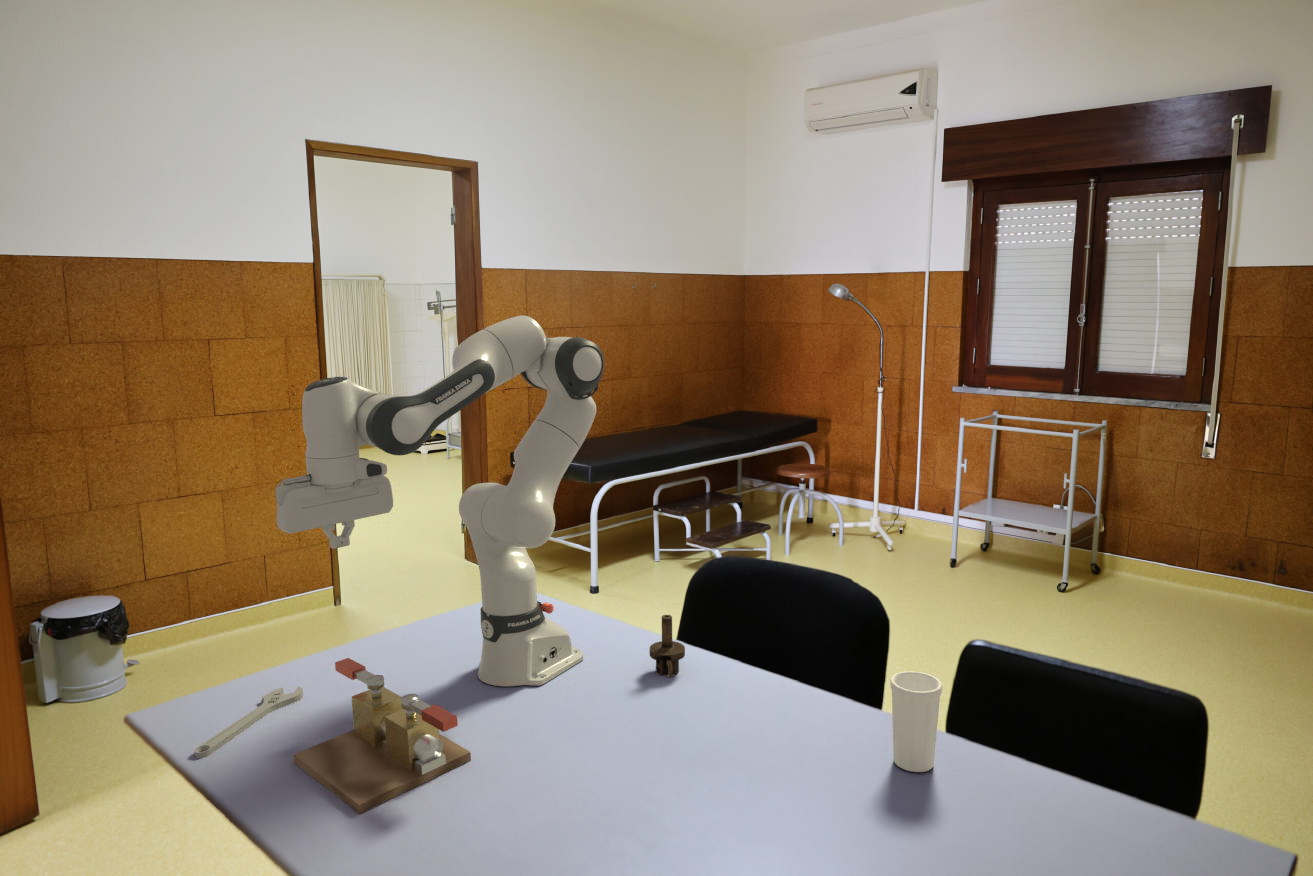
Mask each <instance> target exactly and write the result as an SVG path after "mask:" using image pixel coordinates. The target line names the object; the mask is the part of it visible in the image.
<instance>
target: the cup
mask: <svg viewBox="0 0 1313 876" xmlns="http://www.w3.org/2000/svg"><path fill="white" fill-rule="evenodd" d="M889 682H890V688H891V705H892V709H891V710H892V745H893V747H892V749H893V750H892V751H893V752H892V753H893V761H894V764H895V765H896V766H897V767H899V768H901V769H903V770H904V771H908V772H915V773H924V772H928V771H930V770H931V769H932V768H933V767H934V764H935V755H936V745H937V744H936V743H937V735H938V733H937V731H938V725H939V724H938V721H939V711H940V710H939V709H940V701H941V695H942V693H943V688H944V687H943V684H942V681H941V680H939V678H937V677H936V676H934V675H932V674H929V673H926V672H920V671H910V670H909V671H908V670H907V671H900V672H897V673H895V674H892V676H891V678H890V679H889Z"/></svg>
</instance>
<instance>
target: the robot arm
mask: <svg viewBox="0 0 1313 876" xmlns="http://www.w3.org/2000/svg"><path fill="white" fill-rule="evenodd" d="M451 360H452V361H451V362H452V370H453V371H452V372H451V373H449V374H448V375H446V376H445V377H444V378H442V379H440V380H439V381H437V382H436V383H433V384H432V385H431V386H429V387H427V388H425V389H424V390H423V391H421V392H419V393H417V394H413V395H404V396H403V395H402V396H399V395H398V396H397V395H393V394H387V393H383V392H380V391H376V390H374V389H373V390H372V389H370V388H367V387H364V386H362V385H360V384H357V383H356V382H354V381H352V380H351V379H349V377H345V376H333V377H327V378H321V379H318V380H315V381H313V382H311V383H310V384H308V385H307V386H306V388H304V391H303V395H302V403H301V404H302V406H301V407H302V408H301V409H302V410H301V414H302V418H301V419H302V432H303V435H304V437H305V441H306V447H305V448H306V449H305V452H304V453H305V454H304V456H305V467H306V474H305V475H299V476H296V477H287V478H285V479H283V480H282V481H281V482H279V483H278V484H277V486H276V487H275V492H274V493H275V500H276V503H277V504H276V505H277V506H276V525H277V528H278V529H279V530H281V532H284V533H286V534H289V535H290V534H295V533H300V532H304V531H309V530H315V529H318V528H321V531H322V532H323V533H324V534H325V535H326V537H327V538H328V540H329V541H328V543H329V547H330V549H333V550H335V549H338V548H339V549H340V548H344V547H348V546H350V543H351V542H350V540H351V539H350V536H351V534H352V533H353V531H354V529H355V521H356V520H360V519H361V520H362V519H365V518H370V517H374V516H379V515H385V514H389V513H390V512H391V511H392V509H393V508H394V498H393V490H392V485H391V481H390V479H389V477H388V476H386V475H387V474H388V473H387V472H388V466H387V464H386V463H383V462H379V461H377V460H373V459H368V458H365V457H360V447H361V446H366V445H369V446H372V447H375V448H378V449H379V450H381V451H383V452H384V453H387V454H389V455H393V456H406V455H409V454H412V453H414V452H415V451H417V450H419V449H420V448H421V447H422V446H424V445H425V443H426V441H427V440H428V439H429V438H430V436H431V435H432V434H433V432H434V431H435V430H436V429H437V427H439V426H440V425H441V424H442V423H444V422H445V421H447V420H448V419H449V418H451V417H452V416H454V415H455V414H457V413H458V412H460V411H461V410H463V409H464V408H466V407H467V406H469V405H471V403H474V402H475V401H476V400H478V399H479V398H480V397H481V396H483V395H485V394H487V393H488V392H490V391H492V390H494V389H496V388H498V387H499V386H501V385H503V384H505V383H507V382H508V381H510V380H512V379H513V378H515V377H517V376H518V375H520V376H521V378H522V379H523V380H524V381H525V382H526V383H527V384H528V385H530V386H531V387H534V388H537V389H539V390H540V389H541V390H546V398H545V402H544V404H543V408H542V409H541V411H539V413H538V414H537V416H536V417H535V419H534V420H533V422H532V423H531V425H530V426H529V427H528V430H527V431H526V432H525V434H524V436H523V437H522V438H521V439H520V441H519V443H518V445H517V446H516V448H515V449H514V452H513V459H514V469H513V472H512V476H511V477H510V480H509V482H508V483H507V485H504V484H501V483H497V482H482V483H481V482H479V483H476V484H473V485H471V486H469V487H468V488H467V489H466V490H465V491H464V492H463V494H462V495H461V497H460V500H459V503H458V512H459V516H460V519H461V520H462V521H463V523H464V524H465V527H466V528H467V530H468V531H467V532H468V534H469V536H470V540H471V544H472V547H473V550H474V553H475V558H476V561H477V565H478V570H479V577H480V587H481V588H480V589H481V592H480V593H481V604H482V605H481V608H480V630H481V634H482V649H481V656H480V662H479V667H478V671H477V677H478V678H479V680H480V681H481V682H483V683H484V684H485V683H486V684H488V685H492V686H498V687H517V686H542V685H545V684H546V683H548V682H550V681H551V680H552V679H554V678H556V677H557V676H559V675H562V673H564V672H565V671H567V670H568V669H570V668H572V667H574V666H575V665H577V664H578V663H580V662H582V661H583V660H584V655H583V652H581V650H580V649H578V648H576V647H575V646H573V645H572V640H571V637H570V634H569V632H568V631H567V630H566V629H565V628H564V627H562V626H561V625H559V624H557V623H556V622H554V621H552V620H550V619H548V618H547V617H545V615H544V612H545V613H546V614H549V615H550V614H552V613H553V612H554V609H555V607H554V605H553V604H552V603H549V602H543V603H542V602H541V601H539V600H538V594H537V574H536V573H537V571H536V566H535V564H534V562H533V561H532V558H530V556H529V553H528V551H527V549H536V548H538V547H542V546H543V545H544V544H546V543H547V542H548V541H549V540H550V538H551V537H552V535H553V532H554V531H555V527H556V515H555V511H554V503H555V498H556V493H557V491H558V488H559V486H560V483H561V481H562V479H563V477H564V475H565V473H566V472H567V470H568V468H569V466H570V465H571V463H572V462H573V460H574V459H575V457H576V455H577V453H578V452H579V450H581V447H582V445H583V443H584V442H585V441H586V438H587V436H588V435H589V432H590V431H591V428H592V425H593V422H594V420H595V417H596V414H597V405H596V402H595V401H594V398H593V397H592V396H593V395H594V394H595V393H596V392H597V391H598V389H599V383H600V382H601V380H602V378H603V375H604V370H605V358H604V354H603V351H602V350H601V348H600V347H599V345H598V344H596V343H595V342H593V341H592V340H589V339H587V338H584V337H581V336H579V337H578V336H575V337H572V336H557V337H547V336H546V333H545V331H544V330H543V327H542V326H541V325H540V324H539V322H538V321H536V320H535V319H534V318H532V317H530V316H528V315H516V316H514V317H510V318H507V319H503V320H501V321H498V322H496V323H493V324H491V325H489V326H487V327H485V328H483V329H481V330H479V331H477V332H475V333H473V334H472V335H470V336H469V337H467V338H466V339H464V340H463V341H461V343H459V344H458V345H457V346H456V347H455V348H454V351H453V354H452V359H451ZM336 524H341V525H342V526H343V529H342V531H341V534H340V535H337V536H336V535H335V533H334V532H333V531H335V530H336V526H335V525H336Z"/></svg>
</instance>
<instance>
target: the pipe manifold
mask: <svg viewBox="0 0 1313 876" xmlns="http://www.w3.org/2000/svg"><path fill="white" fill-rule="evenodd" d="M419 697H420V696H419V695H418V694H417V693H407V694H404V695H403V696H400V695H398V694H397V693H395V692H394V691H392V690H390V689H388V688H386V687H384V686H383V687H382V688H380V689H375V690H371V689H368V690H364V691H363V692H362V691H361V692H360V693H358V694H354V695H352V696H351V705H352V707H351V708H352V719H353V721H352V726H353V728H352V730H354V733H355V735H357V736H358V737H360V738H362V739H363V740H365V741H366V742H368V743H369V744H371V745H372V746H374V747H378V746H380V745H382V744H383V749H384V750H385V751H387V755H388V756H389V757H390V758H392V759H393V760H395V761H396V762H398V763H399V764H401V765H402V766H404V767H405V768H407V769H408V770H410V771H411V770H413V769H415V770H416V771H417V772H419V773H420V774H422V775H423V774H425V773H427V772H429V771H431V770H434V769H436V768H438V767H440V766H442V765H444V764H446V758H445V755H444V754H443V753H442V750H443V744H442V742H441V741H440V740H439V734H440V732H442V733H444V732H447V731H450V730H451V729H453V728H456V727H458V726H459V725H458V724H459V723H458V716H457V715H456V714H454V713H452V712H450V711H448V710H447V709H445V708H443V707H442V706H440V705H437V704H433V705H431V704H429V703H428V702H426V701H424V700H421V699H420V698H419ZM439 731H440V732H439Z"/></svg>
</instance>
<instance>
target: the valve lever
mask: <svg viewBox="0 0 1313 876" xmlns="http://www.w3.org/2000/svg"><path fill="white" fill-rule="evenodd" d="M334 667H335V672H337V673H339V674H341V675H343V676H344V677H345V678H348V679H349V680H351V681H353V680H358V681H360V682H362V683H363V684H365V685H366V688H367V689H368V690H370V689H371V690H375V689H380V688H382V687H384V686H385V676H384V675H382V674H374V673H373V672H370V671H368V670H367V669H366V666H365V665H363V664H361V663H359V662H357V661H356V660H354V659H352V658H349V657H347V658H344V659H340V660H338V661H336V662H334Z"/></svg>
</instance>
